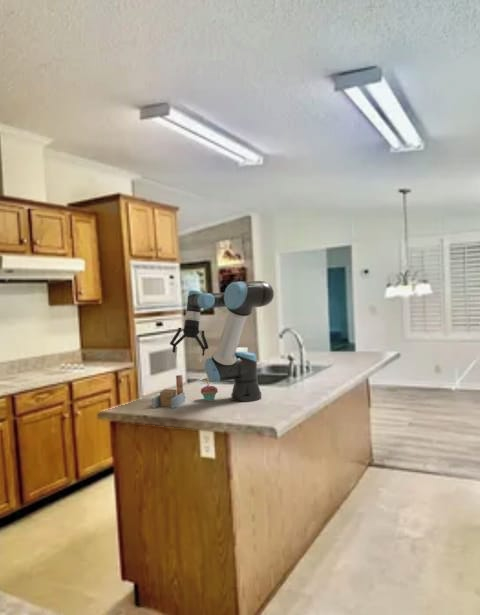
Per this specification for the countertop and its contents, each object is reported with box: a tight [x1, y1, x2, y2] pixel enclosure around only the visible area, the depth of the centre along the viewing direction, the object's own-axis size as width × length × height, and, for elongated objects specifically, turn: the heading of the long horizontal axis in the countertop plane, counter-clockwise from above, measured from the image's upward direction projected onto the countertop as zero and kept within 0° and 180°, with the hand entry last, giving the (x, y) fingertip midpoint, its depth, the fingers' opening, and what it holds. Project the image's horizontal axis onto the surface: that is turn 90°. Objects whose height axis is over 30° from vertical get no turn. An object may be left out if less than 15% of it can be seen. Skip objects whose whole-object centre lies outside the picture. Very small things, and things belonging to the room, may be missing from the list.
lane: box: [151, 392, 186, 410], centre depth 237 cm, size 14×11×4 cm
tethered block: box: [159, 374, 184, 407], centre depth 244 cm, size 20×6×12 cm, turn 165°
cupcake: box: [200, 375, 219, 402], centre depth 244 cm, size 9×8×12 cm
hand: (187, 360), depth 254 cm, fingers open, 13 cm apart
